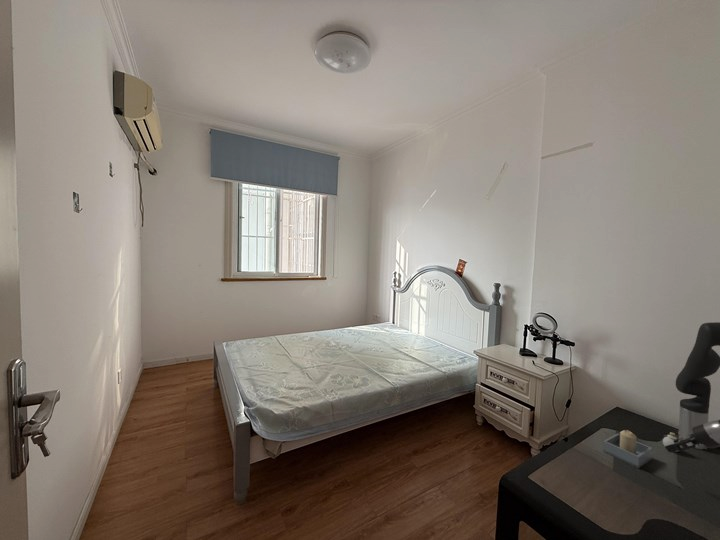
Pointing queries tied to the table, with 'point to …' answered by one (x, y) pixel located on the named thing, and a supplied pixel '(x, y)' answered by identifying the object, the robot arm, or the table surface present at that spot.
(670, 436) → the ornament
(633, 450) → the candle
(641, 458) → the tray
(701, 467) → the table surface
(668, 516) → the table surface
